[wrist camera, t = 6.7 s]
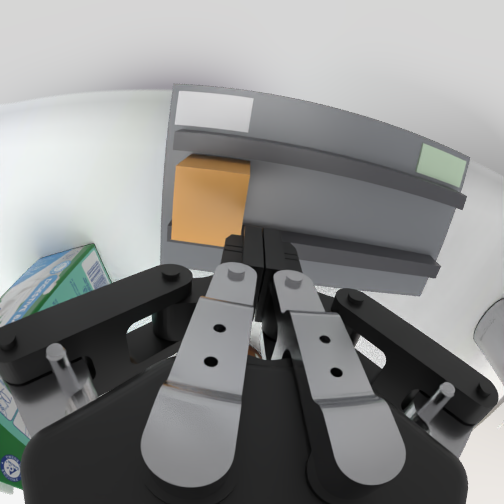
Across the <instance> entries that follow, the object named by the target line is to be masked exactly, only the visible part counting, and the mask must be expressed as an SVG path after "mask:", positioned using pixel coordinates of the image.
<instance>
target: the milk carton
mask: <svg viewBox="0 0 504 504" xmlns="http://www.w3.org/2000/svg"><path fill="white" fill-rule="evenodd" d="M108 284H111V281H110V279H109V277H108V275H107V273H106V270H105V268H104V266H103V264H102V262H101V259H100V257H99V255H98V253H97V250H96V248H95V246H94V244H90V245H86V246H82V247H79V248H75V249H72V250H68V251H64V252H61V253H57V254H54V255H51V256H47V257H44V258H40V259H39V260H37V261H36V262H35V263H34V264H33V265H32V266H31V267H30V268H29V269H28V270H27V271H26V272H25V273H24V274H23V275H22V276H21V277H20V278H19V279H18V280H17V281H16V282H15V283H14V284H13V285H12V286H11V287H10V288H9V289H8V290H7V291H6V292H5V293H4V294H3V296H2V297H1V298H0V327H2V326H4V325H7V324H9V323H12V322H14V321H17V320H19V319H21V318H24V317H26V316H29V315H31V314H34V313H36V312H39V311H41V310H44V309H46V308H49V307H51V306H54V305H57V304H59V303H62V302H64V301H67V300H69V299H72V298H74V297H77V296H80V295H82V294H85V293H87V292H90V291H92V290H95V289H98V288H100V287H103V286H106V285H108ZM30 439H31V437H30V435H29V433H28V430H27V428H26V426H25V424H24V422H23V420H22V418H21V415H20V413H19V411H18V408H17V406H16V404H15V401H14V399H13V396H12V395H11V393H10V392H9V390H8V389H7V387H6V386H5V384H4V382H3V381H2V379H1V377H0V491H1V492H4V493H7V494H13V487H16V488H19V489H22V490H23V487H22V481H21V474H20V463H21V458H22V454H23V452H24V449H25V447H26V445H27V443H28V442H29V441H30Z"/></svg>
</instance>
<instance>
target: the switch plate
mask: <svg viewBox="0 0 504 504" xmlns="http://www.w3.org/2000/svg"><path fill="white" fill-rule="evenodd" d="M190 154H199V155H208V156H216V157H224V158H232V159H239V160H246V161H250V179H249V185H248V191H247V197H246V204H245V210H244V216H243V223H242V229H241V235H242V236H244V230H245V225H248V226H255V227H262V229H263V228H269V229H275V230H280V234H281V239H282V242H289V243H291V244H292V245H293V246H294V247H295V248H296V250H297V254H298V257H299V261H300V265H301V268H302V272H303V274H305V275H306V276H308V277H309V278H310V279H311V280H312V282H313V284H314V285H317V286H326V287H334V288H343V289H344V288H350V289H355V290H362V291H371V292H381V293H391V294H402V295H412V296H420V295H421V293H422V291H423V289H424V287H425V284H426V282H427V280H428V278H429V277H430V278H436V276H437V274H438V272H439V269H440V267H441V266H440V265H439V264H438V263H437V262H436V260H437V257H438V255H439V252H440V250H441V247H442V245H443V242H444V240H445V237H446V234H447V232H448V229H449V226H450V223H451V221H452V218H453V215H454V212H455V209H456V208H458V209H461V210H463V207H464V204H465V201H466V197H467V196H466V195H464V194H462V193H461V190H462V186H463V183H464V179H465V176H466V172H467V168H468V164H469V160H470V157H468V156H466V155H464V154H462V153H460V152H458V151H455V150H453V149H451V148H449V147H447V146H444V145H442V144H439V143H437V142H435V141H433V140H430V139H427V138H425V137H423V136H420V135H418V134H415V133H413V132H410V131H407V130H404V129H402V128H399V127H396V126H393V125H390V124H388V123H385V122H382V121H379V120H375V119H372V118H369V117H366V116H362V115H359V114H355V113H352V112H349V111H345V110H341V109H338V108H333V107H330V106H326V105H322V104H317V103H313V102H309V101H304V100H300V99H295V98H289V97H284V96H279V95H273V94H267V93H261V92H255V91H248V90H240V89H232V88H224V87H214V86H203V85H189V84H174V85H173V92H172V99H171V107H170V115H169V123H168V132H167V142H166V153H165V165H164V178H163V194H162V215H161V256H160V265H163V264H177V265H181V266H184V267H186V268H187V269H194V270H201V271H208V272H215V270H216V268H217V267H218V266H219V265H220V263H221V259H222V254H223V249H224V247H221V246H214V245H207V244H199V243H192V242H185V241H178V240H171V232H172V212H173V196H174V183H175V170H176V165H178V164H179V163H180V162H181V161H183V160H184V159H185V158H187V157H188V156H189V155H190Z"/></svg>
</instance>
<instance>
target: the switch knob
mask: <svg viewBox="0 0 504 504" xmlns="http://www.w3.org/2000/svg"><path fill="white" fill-rule="evenodd" d="M249 179H250V161H246V160H239V159H232V158H224V157H216V156H208V155H199V154H190V155H189V156H188V157H187V158H185V159H184V160H183V161H181V162H180V163H179V164H178V165H176V170H175V183H174V196H173V212H172V232H171V240H178V241H185V242H192V243H199V244H207V245H214V246H221V247H224V245H225V240H226V238H227V237H228V236H230V235H231V234H235V235H241V229H242V223H243V216H244V210H245V204H246V197H247V191H248V185H249Z"/></svg>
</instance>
